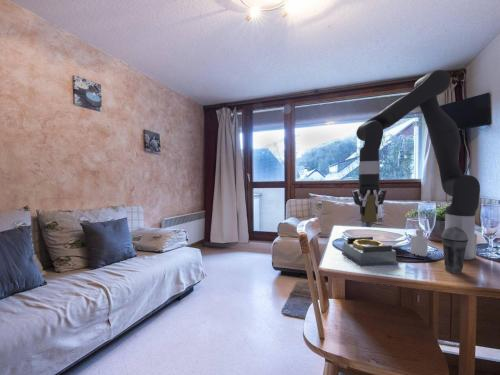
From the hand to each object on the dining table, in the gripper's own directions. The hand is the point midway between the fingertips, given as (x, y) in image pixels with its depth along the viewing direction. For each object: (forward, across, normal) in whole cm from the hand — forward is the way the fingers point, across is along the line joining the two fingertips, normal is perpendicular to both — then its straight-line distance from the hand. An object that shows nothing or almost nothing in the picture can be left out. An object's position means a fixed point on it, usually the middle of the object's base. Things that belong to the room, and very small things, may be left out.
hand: (368, 215), depth 100 cm
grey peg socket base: (+18, 0, 0) cm, 18 cm away
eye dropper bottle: (+18, -23, -1) cm, 29 cm away
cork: (+2, 0, 0) cm, 2 cm away
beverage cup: (+18, -22, +16) cm, 33 cm away
